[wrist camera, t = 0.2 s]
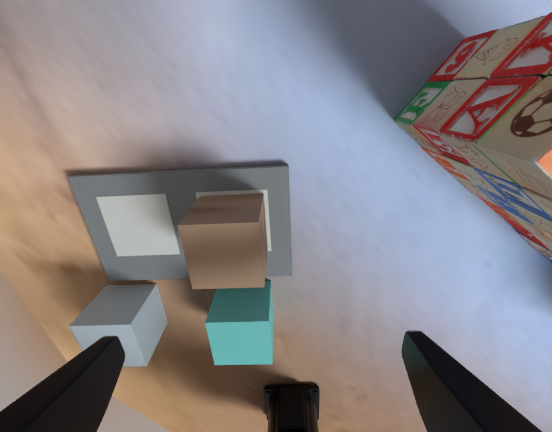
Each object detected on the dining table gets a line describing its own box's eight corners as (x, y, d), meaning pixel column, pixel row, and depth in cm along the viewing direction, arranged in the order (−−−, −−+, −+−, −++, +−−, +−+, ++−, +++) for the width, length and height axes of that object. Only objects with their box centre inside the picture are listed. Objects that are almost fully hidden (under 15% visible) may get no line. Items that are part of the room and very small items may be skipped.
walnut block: (267, 248, 23) (264, 287, 18) (209, 250, 23) (192, 289, 19) (263, 193, 21) (258, 222, 16) (199, 196, 21) (177, 225, 16)
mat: (291, 271, 25) (291, 275, 24) (112, 276, 25) (108, 281, 25) (288, 164, 20) (288, 166, 20) (72, 174, 21) (66, 177, 20)
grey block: (168, 321, 28) (146, 366, 23) (121, 322, 28) (91, 367, 24) (156, 283, 26) (130, 324, 21) (106, 284, 26) (69, 326, 21)
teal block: (273, 318, 27) (272, 364, 23) (225, 320, 28) (214, 365, 23) (270, 279, 25) (268, 321, 21) (218, 281, 25) (205, 322, 21)
